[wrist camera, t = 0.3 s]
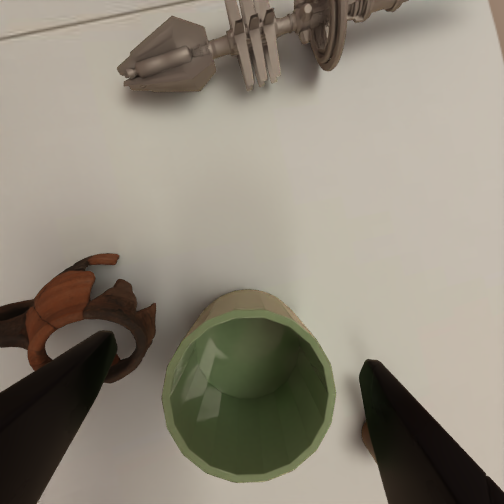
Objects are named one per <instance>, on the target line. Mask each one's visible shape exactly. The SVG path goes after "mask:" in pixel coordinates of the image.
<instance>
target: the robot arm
mask: <svg viewBox="0 0 504 504" xmlns="http://www.w3.org/2000/svg"><path fill="white" fill-rule="evenodd" d="M116 353H117V343H116V340H115V336H114V333H113V332H112V331H105V330H101V331H98V332H97V333H95V334H93V335H92V336H90V337H89V338H87V339H85V340H84V341H82V342H81V343H79V344H77V345H76V346H74V347H73V348H71V349H69V350H68V351H66V352H65V353H63V354H61V355H60V356H58V357H57V358H55V359H53V360H52V361H50V362H49V363H47V364H45V365H44V366H42V367H41V368H39V369H37V370H36V371H34V372H33V373H31V374H29V375H28V376H26V377H25V378H23V379H21V380H20V381H18V382H17V383H15V384H13V385H12V386H10V387H9V388H7V389H5V390H4V391H2V392H1V393H0V504H37V502H38V500H39V499H40V497H41V495H42V493H43V491H44V490H45V488H46V486H47V484H48V483H49V481H50V479H51V477H52V476H53V474H54V472H55V470H56V468H57V467H58V465H59V463H60V461H61V460H62V458H63V456H64V454H65V452H66V451H67V449H68V447H69V445H70V444H71V442H72V440H73V438H74V437H75V435H76V433H77V431H78V429H79V428H80V426H81V424H82V422H83V421H84V419H85V417H86V415H87V414H88V412H89V410H90V408H91V406H92V405H93V403H94V401H95V399H96V397H97V395H98V393H99V391H100V389H101V387H102V385H103V382H104V380H105V378H106V376H107V373H108V371H109V369H110V367H111V364H112V362H113V360H114V358H115V355H116ZM359 382H360V388H361V393H362V399H363V405H364V411H365V416H366V422H367V427H368V431H369V435H370V439H371V443H372V446H373V450H374V453H375V457H376V461H377V464H378V468H379V471H380V475H381V479H382V482H383V486H384V490H385V493H386V497H387V500H388V504H504V492H503V491H502V490H501V489H500V488H499V487H498V486H497V485H496V483H495V482H494V481H493V480H492V479H491V478H490V477H489V476H486V473H485V472H484V471H483V470H482V469H481V468H480V467H479V466H478V465H477V463H476V462H475V461H474V460H473V459H472V458H471V457H470V456H469V455H468V454H467V453H466V452H465V451H464V450H463V449H462V448H461V447H460V446H459V444H458V443H457V442H456V441H455V440H454V439H453V438H452V437H451V436H450V435H449V434H448V433H447V432H446V431H445V430H444V429H443V428H442V426H441V425H440V424H439V423H438V422H437V421H436V420H435V419H434V418H433V417H432V416H431V415H430V414H429V413H428V412H427V411H426V410H425V408H424V407H423V406H422V405H421V404H420V403H419V402H418V401H417V400H416V399H415V398H414V397H413V396H412V395H411V394H410V393H409V392H408V390H407V389H406V388H405V387H404V386H403V385H402V384H401V383H400V382H399V381H398V380H397V379H396V378H395V377H394V376H393V375H392V374H391V372H390V371H389V370H388V369H387V368H386V367H385V366H384V365H383V364H382V363H381V362H380V361H378V360H371V359H367V360H366V361H365V362H364V365H363V367H362V369H361V372H360V374H359Z"/></svg>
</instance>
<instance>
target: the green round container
mask: <svg viewBox="0 0 504 504" xmlns="http://www.w3.org/2000/svg"><path fill="white" fill-rule="evenodd" d="M335 398H336V390H335V384H334V378H333V373H332V367H331V364H330V362H329V360H328V358H327V357H326V355H325V353H324V351H323V350H322V348H321V346H320V344H319V343H318V341H317V339H316V338H315V337H314V336H313V335H312V333H311V332H310V331H309V330H308V329H307V327H306V326H305V325H304V324H303V323H302V321H301V320H300V319H299V318H298V317H297V316H296V314H295V313H294V312H293V311H292V310H291V309H290V308H289V307H288V306H287V305H286V304H285V303H284V302H282V301H281V300H280V299H278V298H277V297H275V296H273V295H271V294H269V293H266V292H263V291H259V290H251V289H245V290H237V291H233V292H230V293H227V294H225V295H223V296H221V297H219V298H217V299H216V300H215V301H213V302H212V303H211V304H210V305H209V306H208V307H207V308H206V309H204V310H203V312H202V313H201V315H200V316H199V317H198V319H197V320H196V322H195V323H194V325H193V326H192V327H191V329H190V330H189V332H188V333H187V334H186V336H185V337H184V339H183V340H182V342H181V343H180V345H179V347H178V349H177V350H176V352H175V354H174V356H173V357H172V359H171V361H170V363H169V364H168V366H167V369H166V375H165V381H164V386H163V392H162V403H163V409H164V414H165V420H166V425H167V429H168V431H169V432H170V434H171V436H172V437H173V439H174V441H175V442H176V444H177V446H178V447H179V449H180V451H181V453H182V454H183V455H184V456H185V457H186V458H188V459H189V460H190V461H191V462H193V463H194V464H195V465H196V466H198V467H199V468H200V469H201V470H203V471H204V472H205V473H207V474H210V475H213V476H216V477H219V478H222V479H225V480H228V481H231V482H234V483H245V482H265V481H269V480H271V479H274V478H276V477H279V476H281V475H284V474H286V473H289V472H291V471H293V470H295V469H296V468H297V467H298V466H299V465H300V464H302V463H303V462H304V461H305V460H306V459H307V458H308V457H309V456H311V455H312V454H313V453H314V452H315V451H316V450H317V448H318V447H319V445H320V443H321V441H322V439H323V438H324V436H325V434H326V432H327V430H328V429H329V427H330V425H331V422H332V416H333V410H334V404H335Z"/></svg>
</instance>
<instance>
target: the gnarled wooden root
mask: <svg viewBox="0 0 504 504" xmlns="http://www.w3.org/2000/svg"><path fill="white" fill-rule="evenodd" d="M118 259H119V255H117V254H110V253H106V254H97V255H93V256H89V257H87V258H84V259H82V260H80V261H78V262H77V263H75V264H74V265H73V266H71V267H69V268H67V269H66V270H64V271H63V272H62V273H60V274H59V275H57V276H56V277H55V278H53V279H52V280H51V281H50V282H49V283H47V284H46V285H45V286H44V287H43V288H42V289H41V290H40V291H39V293H38V294H37V296H36V297H35V298H34V299H33V300H26V301H21V302H16V303H11V304H8V305H4V306H1V307H0V347H1V348H4V347H20V348H24V349H26V350H28V360H29V363H30V366H31V367H32V368H33V370H34V371H36V370H37V369H39V368H41V367H42V366H44V365H45V364H47V363H49V362H50V361H52V359H51V358H50V357H49V356H48V355H47V353H46V350H45V343H46V341H47V339H48V338H49V336H50V335H51V334H52V333H53V332H55V331H56V330H58V329H59V328H61V327H63V326H65V325H67V324H70V323H73V322H77V321H81V320H84V319H102V320H108V321H112V322H115V323H118V324H120V325H122V326H124V327H126V328H127V329H128V330H130V331H131V333H132V334H133V336H134V338H135V340H136V348H135V351H134V352H133V353H132V355H131V356H130V357H128V358H126V359H122V360H120V358H119V356H118V355H117V353H116V355H115V358H114V360H113V362H112V364H111V367H110V369H109V371H108V373H107V376H106V378H105V380H104V382H103V383H113V382H115V381H118V380H120V379H122V378H123V377H125V376H126V375H128V374H130V373H131V372H132V371H133V370H135V369H136V368H137V367H138V365H139V364H140V363H141V361H142V358H143V357H144V356H145V354H146V352H147V349H148V348H149V347H150V345H151V344H152V339H153V338H154V336H155V332H156V329H155V314H156V303H153V304H151V306H149V307H148V308H145V309H142V310H140V311H137V312H136V307H137V301H136V297H135V295H134V293H133V291H132V285H131V284H130V283H128V282H127V281H125V280H123V279H118V280H117V281H116V283H115V285H114V287H113V288H110V289H108V290H107V291H105V292H104V293H103V294H102V295H100V296H98V297H96V298H95V299H93V300H90V294H91V289H92V286H93V284H94V282H95V276H94V273H93V272H91V271H86V267H88V266H89V265H97V264H104V265H115V264H116V263H117V260H118Z"/></svg>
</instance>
